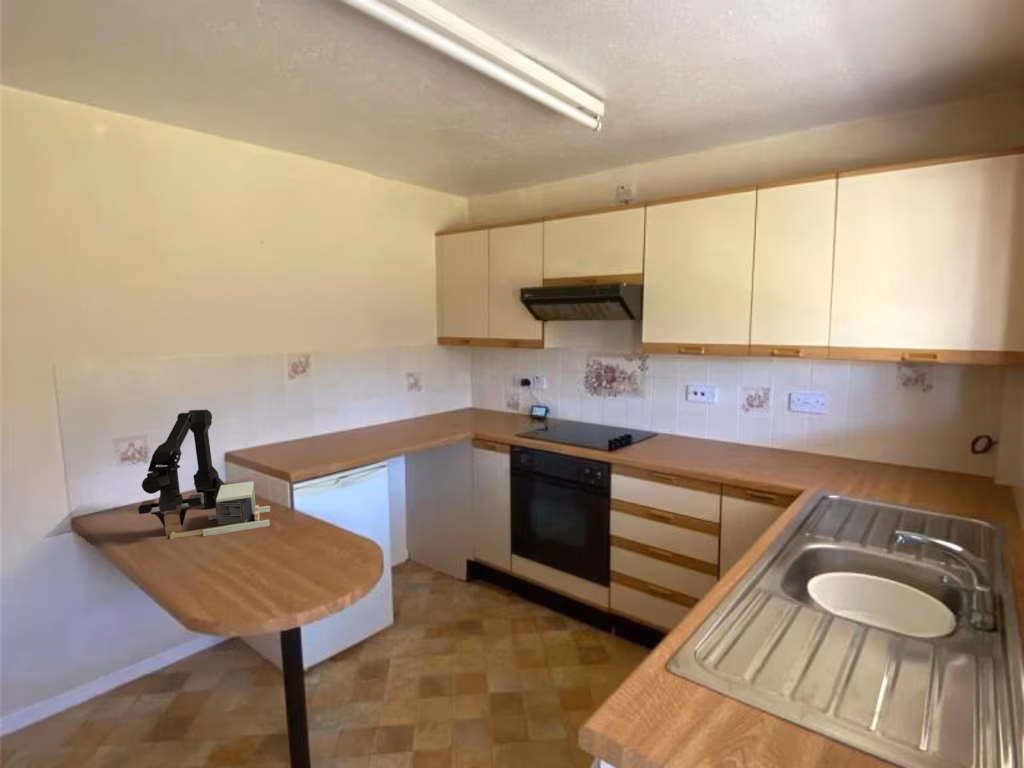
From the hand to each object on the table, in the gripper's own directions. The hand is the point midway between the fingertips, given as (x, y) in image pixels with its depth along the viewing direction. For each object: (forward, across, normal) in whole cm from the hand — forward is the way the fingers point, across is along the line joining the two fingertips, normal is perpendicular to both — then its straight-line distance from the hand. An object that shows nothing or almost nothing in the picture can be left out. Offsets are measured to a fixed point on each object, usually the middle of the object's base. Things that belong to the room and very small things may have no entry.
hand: (174, 527), depth 193 cm
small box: (+2, +19, 0) cm, 19 cm away
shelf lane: (+2, +20, 0) cm, 20 cm away
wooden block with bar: (+2, +12, 0) cm, 13 cm away
